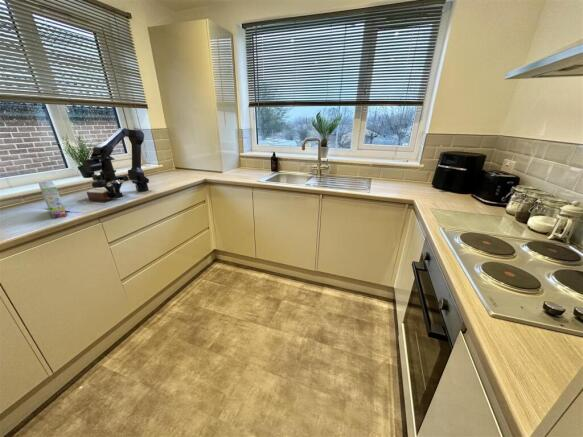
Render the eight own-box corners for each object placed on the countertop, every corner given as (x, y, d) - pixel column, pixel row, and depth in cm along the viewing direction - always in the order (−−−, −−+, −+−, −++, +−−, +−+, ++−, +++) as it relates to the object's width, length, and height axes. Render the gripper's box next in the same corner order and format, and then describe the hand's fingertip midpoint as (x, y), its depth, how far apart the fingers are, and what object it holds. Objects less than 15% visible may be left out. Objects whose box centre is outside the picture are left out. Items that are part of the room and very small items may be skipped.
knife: (123, 197, 141) (121, 190, 139) (119, 198, 139) (117, 191, 137) (100, 195, 145) (98, 189, 143) (96, 196, 143) (94, 190, 141)
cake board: (128, 196, 149) (127, 194, 149) (105, 204, 135) (104, 202, 135) (102, 195, 153) (101, 193, 153) (76, 202, 139) (76, 201, 139)
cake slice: (110, 198, 142) (107, 190, 140) (104, 200, 139) (102, 192, 137) (94, 197, 145) (91, 189, 143) (88, 199, 142) (86, 191, 140)
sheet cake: (121, 195, 149) (118, 187, 147) (112, 197, 144) (110, 189, 142) (105, 194, 151) (103, 186, 149) (96, 197, 146) (93, 189, 144)
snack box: (68, 215, 119) (56, 186, 114) (53, 219, 115) (40, 188, 110) (62, 206, 133) (51, 180, 127) (48, 209, 129) (36, 182, 123)
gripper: (110, 165, 145) (118, 190, 150) (79, 172, 128) (89, 199, 134) (125, 166, 142) (132, 191, 148) (96, 172, 125) (105, 200, 131)
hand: (115, 195), depth 140 cm, fingers closed on knife, 2 cm apart
